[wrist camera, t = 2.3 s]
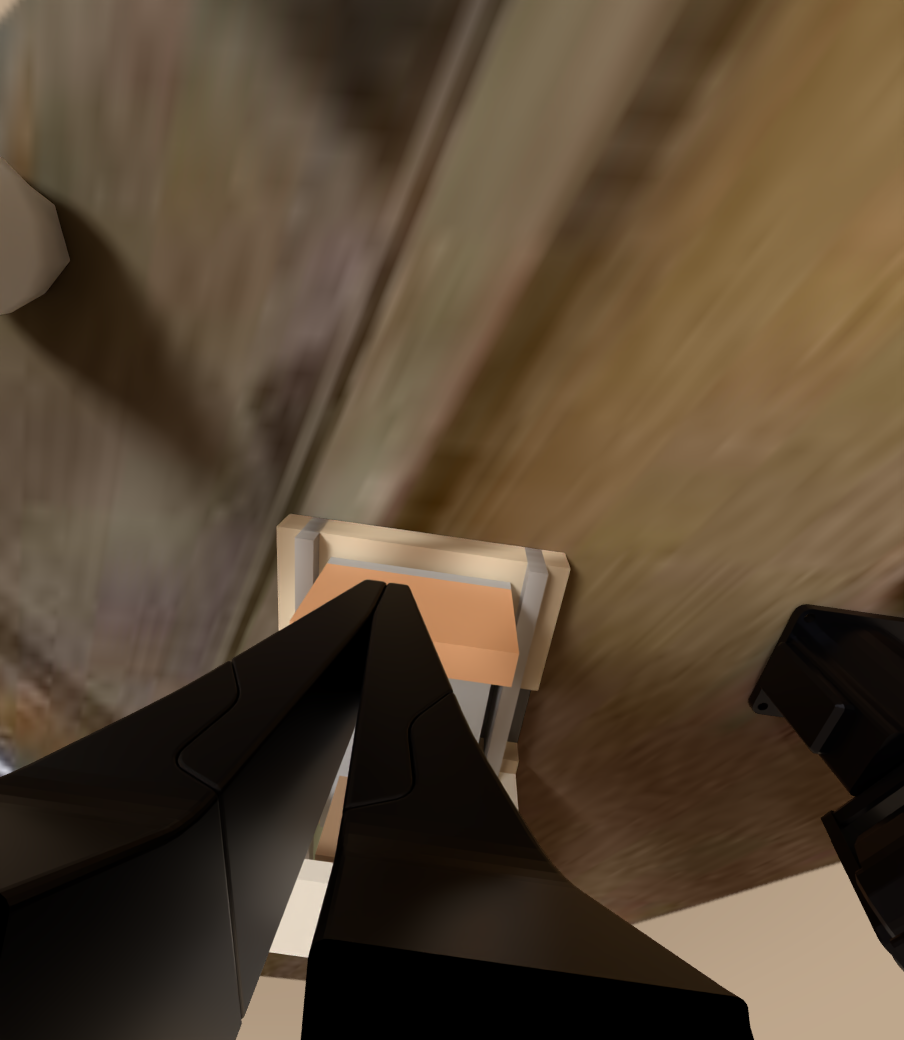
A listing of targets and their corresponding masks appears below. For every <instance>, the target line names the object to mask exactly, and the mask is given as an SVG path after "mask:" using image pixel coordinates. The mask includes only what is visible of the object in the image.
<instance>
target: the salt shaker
mask: <svg viewBox="0 0 904 1040" xmlns="http://www.w3.org/2000/svg"><path fill="white" fill-rule="evenodd" d="M69 262H70V258H69V254H68V251H67V247H66V244H65V240H64V237H63V233H62V229H61V226H60V222H59V219H58V215H57V212H56V208H55V205H54V204H53V203H51V202H50V201H49V200H48V199H46V198H45V197H44V196H42V195H41V194H40V193H39V192H37V191H36V190H35V189H33V188H32V187H31V186H30V185H29V184H28V183H27V182H26V181H25V180H24V179H23V178H22V177H21V176H20V175H19V174H18V173H17V172H16V171H15V170H14V169H13V168H12V167H11V166H10V165H9V164H8V163H7V162H6V161H5V160H4V159H3V158H2V157H1V156H0V315H3V314H9V313H12V312H14V311H15V310H17V309H19V308H21V307H22V306H24V305H26V304H27V303H29V302H31V301H33V300H34V299H36V298H38V297H40V296H41V295H43V294H45V293H46V292H47V290H48V289H49V288H50V286H51V285H52V284H53V283H54V281H55V280H56V279H57V277H58V276H59V275H60V273H61V272H62V271H63V270H64V268H65V267H66V266H67V264H68V263H69Z"/></svg>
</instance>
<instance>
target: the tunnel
mask: <svg viewBox="0 0 904 1040" xmlns="http://www.w3.org/2000/svg"><path fill="white" fill-rule="evenodd" d="M498 778H499V780H500V781H501V783H502V785H503V786H504V788H505V790H506V791H507V793H508V795H509V796H510V798H511V800H512V801H513V803H514V804H515V806H516V808H517V809H518V799H517V786H516V774H510V773H503V772H499V776H498ZM332 866H333V863H331V862H324V861H317V860H310V859H304V862H303V864H302V867H301V870H300V872H299V875H298V878H297V880H296V883H295V885H294V888H293V891H292V893H291V896H290V898H289V901H288V904H287V906H286V909H285V911H284V914H283V917H282V919H281V922H280V925H279V927H278V930H277V932H276V935H275V938H274V940H273V943H272V945H271V948H270V951H269V952H273V953H280V954H287V955H294V956H301V957H308V955H309V951H310V948H311V944H312V940H313V937H314V933H315V929H316V925H317V922H318V918H319V914H320V911H321V907H322V903H323V900H324V896H325V892H326V888H327V885H328V881H329V877H330V874H331V870H332Z"/></svg>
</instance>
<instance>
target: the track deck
mask: <svg viewBox="0 0 904 1040" xmlns="http://www.w3.org/2000/svg"><path fill="white" fill-rule="evenodd" d="M331 557H336V558H343V559H350V560H357V561H364V562H371V563H378V564H385V565H392V566H399V567H406V568H413V569H420V570H427V571H434V572H441V573H448V574H455V575H462V576H469V577H476V578H483V579H490V580H497V581H504V582H510V584H511V592H512V600H513V608H514V616H515V624H516V632H517V640H518V648H519V657H518V661H517V665H516V670H515V674H514V678H513V682H512V686H511V687H507V686H500V685H493V684H491V686H490V691H489V696H488V700H487V705H486V710H485V714H484V719H483V724H482V728H481V733H480V738H479V743H478V744H479V746H480V747H481V749H482V751H483V753H484V755H485V756H486V758H487V760H488V762H489V763H490V765H491V767H492V768H493V770H494V772H495V773H496V775H497V776H499V772H503V773H510V774H516V771H517V767H518V763H519V757H518V746H517V742H518V738H519V734H520V730H521V726H522V723H523V719H524V715H525V711H526V707H527V703H528V699H529V696H530V692H531V690H536V691H538V689H539V685H540V681H541V677H542V674H543V670H544V666H545V662H546V659H547V655H548V651H549V648H550V644H551V640H552V636H553V633H554V629H555V625H556V621H557V618H558V614H559V610H560V606H561V603H562V599H563V595H564V592H565V588H566V584H567V580H568V577H569V573H570V569H571V568H570V566H569V563H568V560H567V558H566V555H565V553H561V552H554V551H547V550H540V549H533V548H526V547H519V546H512V545H505V544H498V543H491V542H484V541H477V540H470V539H463V538H456V537H449V536H442V535H435V534H428V533H421V532H414V531H407V530H400V529H393V528H386V527H379V526H372V525H365V524H358V523H351V522H344V521H337V520H330V519H324V518H317V517H310V516H303V515H296V514H289V515H288V516H287V517H286V518H285V519H284V520H283V521H282V522H281V523H280V524H279V525H278V526H277V567H278V614H279V631H280V630H281V629H283V628H285V627H286V626H288V625H290V620H291V618H292V616H293V615H294V613H295V612H296V610H297V609H298V607H299V606H300V604H301V603H302V601H303V600H304V598H305V596H306V595H307V593H308V592H309V590H310V589H311V587H312V586H313V584H314V583H315V581H316V579H317V578H318V576H319V575H320V573H321V572H322V570H323V569H324V567H325V566H326V564H327V563H328V561H329V559H330V558H331ZM322 830H323V827H320V820H319V823H318V825H317V828H316V831H315V833H314V836H313V838H312V841H311V844H310V846H309V849H308V851H307V854H306V857H305V859H310V860H315V853H316V850H317V847H318V843H319V840H320V837H321V834H322Z"/></svg>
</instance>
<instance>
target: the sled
mask: <svg viewBox="0 0 904 1040" xmlns="http://www.w3.org/2000/svg"><path fill="white" fill-rule="evenodd" d="M366 579H370V580H377V581H383V582H385V583H386V584H388V583H398V584H405V585H408V586H409V587H410V589H411V591H412V594H413V596H414V599H415V601H416V603H417V606H418V608H419V610H420V613H421V615H422V618H423V620H424V622H425V625H426V627H427V629H428V632H429V634H430V637H431V639H432V641H433V644H434V646H435V648H436V651H437V653H438V656H439V658H440V660H441V663H442V665H443V667H444V670H445V672H446V675H447V677H448V679H449V682H450V684H451V686H452V689H453V693H454V694H455V695H456V698H457V700H458V703H459V705H460V707H461V710H462V712H463V714H464V716H465V718H466V720H467V722H468V725H469V727H470V729H471V731H472V733H473V735H474V737H475V739H476V740H477V742H478V743H479V738H480V733H481V728H482V724H483V719H484V714H485V710H486V705H487V700H488V696H489V691H490V686H491V684H493V685H500V686H507V687H511V686H512V682H513V678H514V674H515V670H516V665H517V661H518V657H519V648H518V640H517V632H516V624H515V616H514V608H513V600H512V592H511V584H510V582H504V581H497V580H490V579H483V578H476V577H469V576H462V575H455V574H448V573H441V572H434V571H427V570H420V569H413V568H406V567H399V566H392V565H385V564H378V563H371V562H364V561H357V560H350V559H343V558H336V557H331V558H330V559H329V561H328V563H327V564H326V566H325V567H324V569H323V570H322V572H321V573H320V575H319V576H318V578H317V579H316V581H315V583H314V584H313V586H312V587H311V589H310V590H309V592H308V593H307V595H306V596H305V598H304V600H303V601H302V603H301V604H300V606H299V607H298V609H297V610H296V612H295V613H294V615H293V616H292V618H291V620H290V624H291V623H293V622H295V621H296V620H298V619H300V618H302V617H303V616H305V615H307V614H308V613H310V612H312V611H313V610H315V609H317V608H318V607H320V606H322V605H323V604H325V603H327V602H328V601H330V600H332V599H333V598H335V597H337V596H338V595H340V594H342V593H344V592H345V591H347V590H349V589H350V588H352V587H354V586H355V585H357V584H359V583H360V582H362V581H364V580H366ZM354 732H355V729H354V731H353V734H352V737H351V739H350V742H349V744H348V747H347V750H346V752H345V755H344V757H343V760H342V763H341V765H340V768H339V770H338V773H337V776H336V778H335V781H334V784H333V786H332V789H331V791H330V794H329V797H328V799H327V802H326V804H325V807H324V810H323V812H322V815H321V817H320V827H323V830H322V834H321V837H320V840H319V843H318V847H317V850H316V853H315V860H317V861H324V862H331V863H333V862H334V857H335V852H336V846H337V841H338V835H339V829H340V823H341V818H342V810H343V804H344V797H345V791H346V784H347V778H348V771H349V765H350V758H351V752H352V745H353V739H354Z"/></svg>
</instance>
